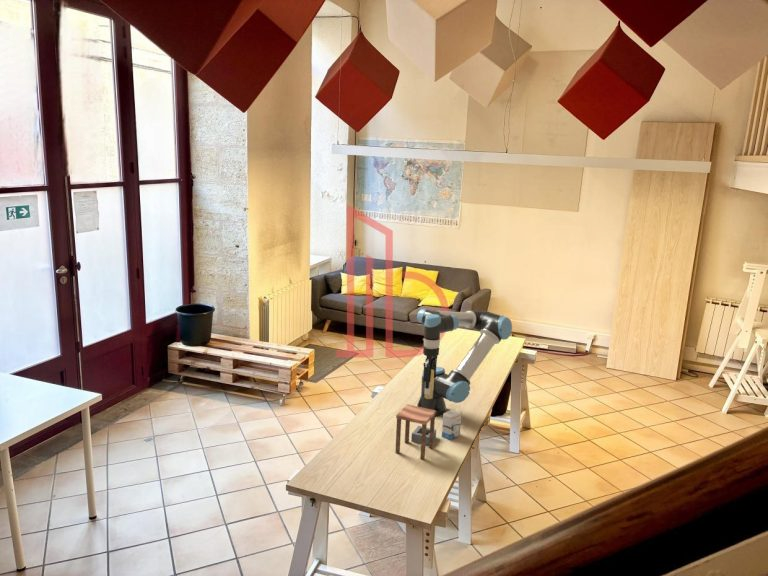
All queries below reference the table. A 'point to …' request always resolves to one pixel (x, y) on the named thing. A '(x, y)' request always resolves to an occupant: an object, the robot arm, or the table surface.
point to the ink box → (451, 424)
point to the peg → (431, 386)
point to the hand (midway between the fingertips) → (428, 392)
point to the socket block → (418, 435)
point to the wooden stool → (416, 416)
